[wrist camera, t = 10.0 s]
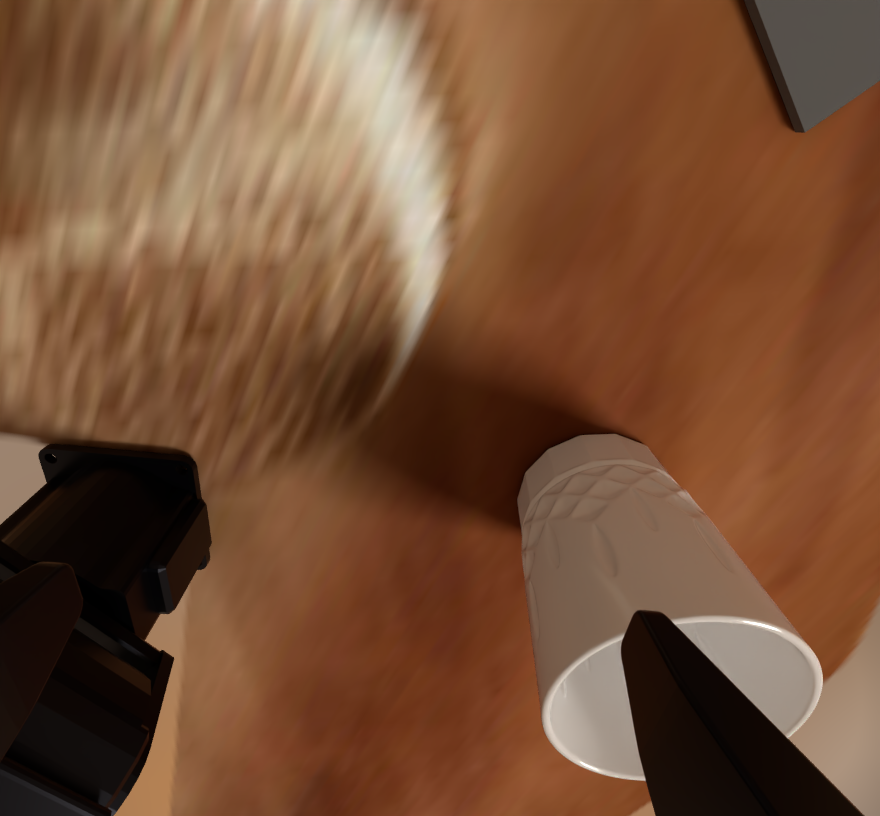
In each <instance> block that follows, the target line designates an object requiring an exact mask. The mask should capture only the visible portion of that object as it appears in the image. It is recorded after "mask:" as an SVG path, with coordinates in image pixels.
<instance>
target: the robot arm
mask: <svg viewBox="0 0 880 816" xmlns="http://www.w3.org/2000/svg"><path fill="white" fill-rule="evenodd" d="M53 455H54V456H55V457H56V458H55V457H54V456H53ZM39 460H40V463H41V466H42V469H43V472H44V475H45V478H46V482H47V484H45V485H44V486H43V487H42V488H41V489H40V490H39V491H38V492H37V493H35V494H34V495H33V496H32V497H31V498H30V499H29V500H28V501H27V502H25V503H24V504H23V505H22V506H21V507H20V508H19V509H18V510H17V511H15V512H14V513H13V514H12V515H11V516H10V517H9V518H7V519H6V520H5V521H4V522H3V523H2V524H1V525H0V816H113V815H114V814H115V813H116V812H117V810H118V809H119V808H120V806H121V805H122V803H123V802H124V800H125V799H126V797H127V796H128V795H129V793H130V791H131V789H132V788H133V786H134V784H135V783H136V781H137V779H138V777H139V775H140V773H141V771H142V769H143V767H144V765H145V763H146V760H147V757H148V754H149V751H150V748H151V744H152V740H153V737H154V733H155V729H156V725H157V721H158V717H159V714H160V710H161V706H162V702H163V699H164V694H165V691H166V687H167V683H168V679H169V676H170V672H171V668H172V664H173V661H174V657H172V656H171V655H169V654H168V653H166V652H165V651H164V650H161V651H159V650H157V649H156V648H154V647H153V646H152V645H150V644H149V643H147V642H146V641H145V639H146V637H147V636H148V634H149V632H150V630H151V629H152V627H153V625H154V624H155V622H156V620H157V619H158V617H159V615H160V614H170V613H171V612H172V611H173V610H175V608H176V607H177V605H178V603H179V601H180V599H181V598H182V596H183V594H184V592H185V591H186V589H187V587H188V585H189V583H190V582H191V580H192V578H193V576H194V574H195V573H196V571H197V570H202V569H204V568H205V567H206V566H207V564H208V562H209V561H210V552H209V547H210V546H211V543H212V541H211V534H210V527H209V520H208V512H207V505H206V503H205V502H204V500H203V499H202V497H201V490H200V483H199V476H198V470H197V465H196V462H195V461H194V460H193V459H192V458H190V457H188V456H184V455H173V454H161V453H150V452H139V451H128V450H117V449H106V448H95V447H84V446H73V445H62V444H49V445H47V446H46V447H44V448H43V449H42V450H41V451H40V452H39ZM180 465H181V466H184V467H185V468H186V469H187V470H185V469H183V468H181V467H180ZM621 659H622V664H623V670H624V675H625V681H626V687H627V692H628V698H629V703H630V709H631V714H632V720H633V726H634V731H635V737H636V742H637V747H638V752H639V757H640V761H641V764H642V768H643V772H644V776H645V779H646V783H647V787H648V790H649V794H650V797H651V801H652V804H653V808H654V812H655V815H656V816H864V815H863V814H862V813H861V812H860V811H859V810H858V809H857V808H856V807H855V806H854V805H853V804H852V803H851V802H850V801H849V800H848V799H847V798H846V797H845V796H844V795H843V794H842V793H841V792H840V791H839V790H838V789H837V788H836V787H835V786H834V784H832V783H831V781H829V780H828V779H827V778H826V776H825V775H824V774H823V773H822V772H821V771H819V769H818V768H817V767H815V765H814V764H813V763H812V762H811V761H810V760H809V759H808V758H807V757H806V756H805V755H804V754H803V753H802V752H801V751H800V750H799V749H798V748H797V747H796V746H795V745H794V744H793V743H792V742H791V741H790V740H789V739H788V738H787V737H786V736H785V735H784V734H783V733H782V732H781V731H780V730H779V729H778V728H777V727H776V726H775V725H774V724H773V723H772V722H771V721H770V720H769V719H768V718H767V717H766V716H765V715H764V714H763V713H762V712H761V711H760V710H759V709H758V708H757V707H756V706H755V705H754V704H753V703H752V702H751V701H750V700H749V699H748V698H747V697H746V696H745V695H744V694H743V693H742V692H741V691H740V690H739V689H738V688H737V687H736V686H735V684H734V683H733V682H732V681H731V680H730V679H729V678H728V677H727V676H726V675H725V674H724V673H723V672H722V671H721V670H720V669H719V668H718V667H717V666H716V665H715V664H714V663H713V662H712V661H711V660H710V659H709V658H708V657H707V656H706V655H705V654H704V653H703V652H702V651H701V650H700V649H699V648H698V647H697V646H696V645H695V644H694V643H693V642H692V641H691V640H690V639H689V638H688V637H687V636H686V635H685V634H684V633H683V632H682V631H681V630H680V629H679V628H678V627H677V626H676V625H675V624H674V623H673V622H672V621H671V620H670V619H669V618H668V617H667V616H666V615H665V614H663V613H662V612H659V611H650V610H637V611H636V612H635V613H634V614H633V616H632V618H631V621H630V623H629V625H628V628H627V630H626V632H625V635H624V637H623V640H622V643H621Z"/></svg>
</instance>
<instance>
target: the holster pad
mask: <svg viewBox="0 0 880 816" xmlns="http://www.w3.org/2000/svg"><path fill="white" fill-rule="evenodd" d="M744 2H745V4H746V7H747V9H748V12H749V15H750V17H751V20H752V22H753V25H754V27H755V30H756V33H757V35H758V38H759V40H760V43H761V45H762V48H763V51H764V53H765V56H766V58H767V61H768V63H769V66H770V69H771V71H772V74H773V76H774V79H775V81H776V84H777V86H778V89H779V92H780V94H781V97H782V99H783V102H784V104H785V107H786V110H787V112H788V115H789V117H790V120H791V122H792V125H793V128H794V130H795V132H806V131H808V130H809V129H811V128H812V127H814V126H815V125H816V124H818V123H819V122H821V121H822V120H824V119H825V118H827V117H828V116H829V115H831V114H832V113H834V112H835V111H837V110H838V109H839V108H841V107H842V106H844V105H845V104H847V103H848V102H850V101H851V100H852V99H854V98H855V97H857V96H858V95H860V94H861V93H862V92H864V91H865V90H867V89H868V88H870V87H871V86H873V85H874V84H875V83H877V82H878V81H880V0H744Z"/></svg>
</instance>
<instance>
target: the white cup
mask: <svg viewBox="0 0 880 816" xmlns="http://www.w3.org/2000/svg"><path fill="white" fill-rule="evenodd" d="M517 503H518V510H519V517H520V524H521V531H522V561H523V570H524V578H525V592H526V600H527V608H528V616H529V623H530V631H531V638H532V646H533V654H534V662H535V670H536V678H537V686H538V694H539V702H540V710H541V719H542V725H543V728H544V731H545V734H546V736H547V738H548V739H549V741H550V742H551V744H552V745H553V746H554V747H555V748H556V750H557V751H559V752H560V753H561V754H562V755H563V756H564V757H566V758H567V759H569V760H570V761H572V762H573V763H575V764H577V765H579V766H581V767H583V768H585V769H588V770H590V771H593V772H596V773H599V774H603V775H607V776H611V777H616V778H622V779H630V780H643V781H646V779H645V776H644V772H643V768H642V764H641V761H640V757H639V752H638V747H637V742H636V737H635V731H634V726H633V720H632V714H631V709H630V703H629V698H628V692H627V687H626V681H625V675H624V670H623V664H622V659H621V643H622V640H623V637H624V635H625V632H626V630H627V628H628V625H629V623H630V621H631V618H632V616H633V614H634V613H635V612H636V611H637V610H650V611H659V612H662V613H663V614H665V615H666V616H667V617H668V618H669V619H670V620H671V621H672V622H673V623H674V624H675V625H676V626H677V627H678V628H679V629H680V630H681V631H682V632H683V633H684V634H685V635H686V636H687V637H688V638H689V639H690V640H691V641H692V642H693V643H694V644H695V645H696V646H697V647H698V648H699V649H700V650H701V651H702V652H703V653H704V654H705V655H706V656H707V657H708V658H709V659H710V660H711V661H712V662H713V663H714V664H715V665H716V666H717V667H718V668H719V669H720V670H721V671H722V672H723V673H724V674H725V675H726V676H727V677H728V678H729V679H730V680H731V681H732V682H733V683H734V684H735V686H736V687H737V688H738V689H739V690H740V691H741V692H742V693H743V694H744V695H745V696H746V697H747V698H748V699H749V700H750V701H751V702H752V703H753V704H754V705H755V706H756V707H757V708H758V709H759V710H760V711H761V712H762V713H763V714H764V715H765V716H766V717H767V718H768V719H769V720H770V721H771V722H772V723H773V724H774V725H775V726H776V727H777V728H778V729H779V730H780V731H781V732H782V733H783V734H784V735H785V736H786V737H787V738H789V737H790V736H791V735H792V734H794V733H795V732H796V731H797V730H798V729H799V728H800V727H801V726H802V725H803V724H804V722H805V721H806V720H807V719H808V718H809V716H810V715H811V714H812V712H813V711H814V709H815V707H816V705H817V703H818V701H819V698H820V695H821V691H822V685H823V675H822V669H821V666H820V663H819V661H818V659H817V657H816V655H815V654H814V652H813V651H812V649H811V648H810V647H809V646H808V644H807V643H806V642H805V641H804V639H803V638H802V637H801V635H800V634H799V633H798V632H797V630H796V629H795V628H794V627H793V625H792V624H791V623H790V621H789V620H788V619H787V618H786V616H785V615H784V614H783V612H782V611H781V610H780V609H779V607H778V606H777V605H776V603H775V602H774V601H773V600H772V598H771V597H770V596H769V594H768V593H767V592H766V591H765V589H764V588H763V587H762V585H761V584H760V583H759V582H758V580H757V579H756V578H755V576H754V575H753V574H752V572H751V571H750V570H749V569H748V567H747V566H746V565H745V563H744V562H743V561H742V560H741V559H740V557H739V556H738V555H737V553H736V552H735V551H734V550H733V548H732V547H731V546H730V544H729V543H728V542H727V540H726V539H725V538H724V537H723V535H722V534H721V533H720V531H719V530H718V529H717V528H716V526H715V525H714V524H713V522H712V521H711V520H710V519H709V517H708V516H707V514H706V513H705V512H704V511H703V510H702V509H701V508H700V507H699V506H698V505H697V504H696V503H695V501H694V500H693V499H692V497H691V496H690V495H689V493H688V492H687V491H686V490H685V489H683V488H682V487H681V486H679V485H678V484H677V483H676V482H675V480H674V479H673V478H672V477H671V476H670V474H669V473H668V471H667V470H666V469H665V468H664V466H663V465H662V464H661V463H660V462H659V460H658V459H657V458H656V457H655V456H654V454H653V453H652V452H651V451H650V449H649V448H648V447H647V446H646V445H644V444H641V443H639V442H636V441H633V440H631V439H628V438H625V437H623V436H620V435H618V434H595V435H579V436H577V437H575V438H572V439H570V440H568V441H565V442H563V443H561V444H559V445H556V446H554V447H552V448H549V449H548V450H547V451H546V452H545V453H544V454H543V455H542V456H541V457H540V458H539V459H538V460H537V461H536V462H535V463H534V464H533V465H532V466H531V467H530V468H529V469H528V470H527V471H526V472H525V475H524V478H523V482H522V485H521V488H520V491H519V495H518V498H517Z"/></svg>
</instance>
